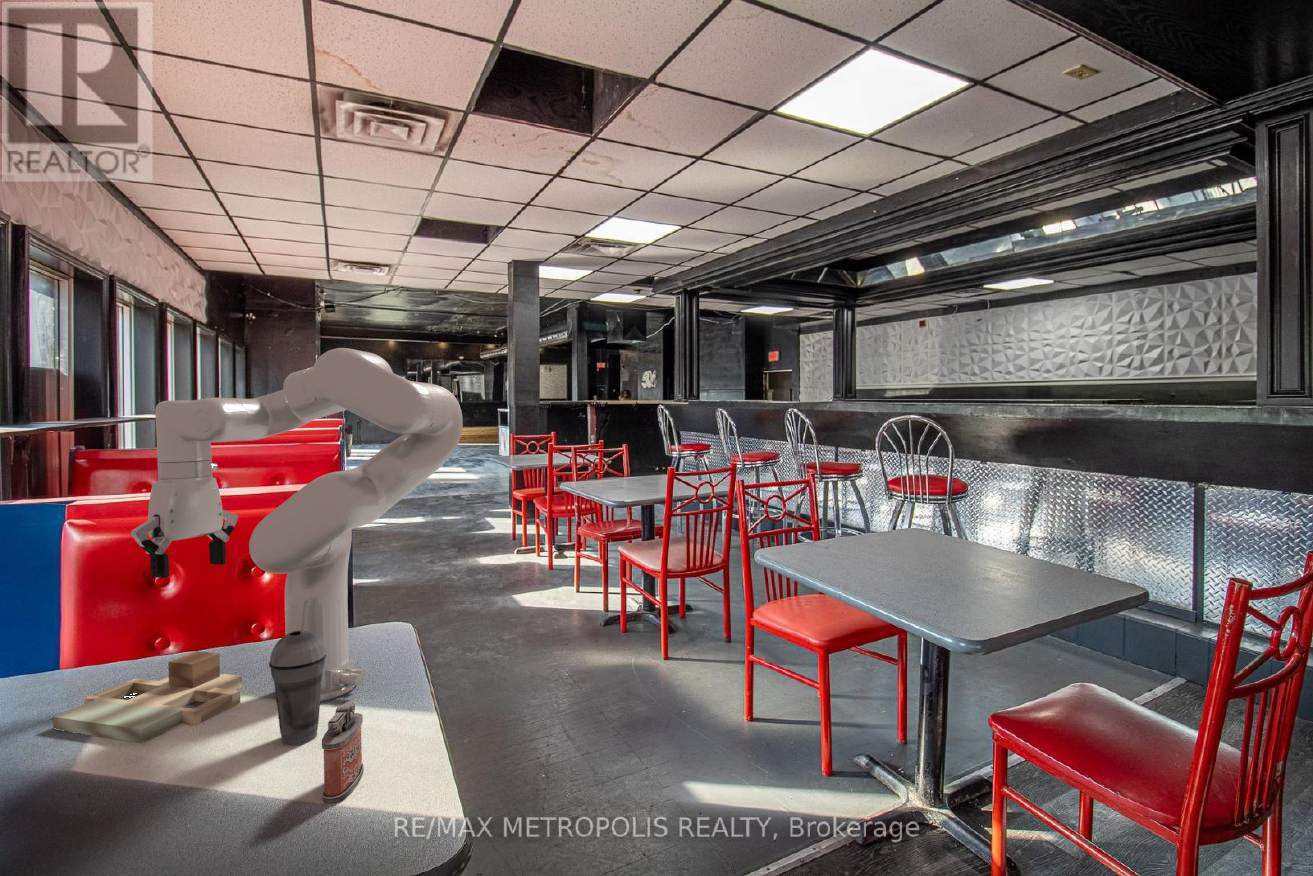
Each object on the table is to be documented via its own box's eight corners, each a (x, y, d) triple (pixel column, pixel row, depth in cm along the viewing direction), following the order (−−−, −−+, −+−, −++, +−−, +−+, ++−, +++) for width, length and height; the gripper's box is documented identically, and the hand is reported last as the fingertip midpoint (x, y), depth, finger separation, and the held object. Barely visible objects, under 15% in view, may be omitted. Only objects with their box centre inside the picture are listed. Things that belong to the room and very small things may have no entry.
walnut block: (220, 676, 111) (219, 653, 111) (192, 688, 106) (192, 664, 106) (196, 674, 112) (196, 651, 112) (169, 685, 107) (168, 661, 107)
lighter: (342, 769, 85) (341, 694, 85) (369, 768, 85) (367, 693, 85) (316, 805, 77) (314, 723, 77) (345, 804, 77) (343, 722, 77)
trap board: (265, 690, 110) (265, 678, 110) (155, 745, 92) (155, 731, 92) (164, 678, 115) (164, 667, 115) (40, 728, 97) (40, 715, 97)
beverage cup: (274, 731, 95) (271, 598, 95) (329, 722, 98) (326, 592, 98) (266, 755, 89) (263, 611, 88) (325, 744, 92) (323, 605, 91)
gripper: (219, 468, 120) (223, 558, 121) (114, 476, 104) (120, 581, 104) (248, 468, 118) (252, 560, 118) (146, 476, 101) (151, 584, 102)
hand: (190, 570), depth 111 cm, fingers open, 9 cm apart
